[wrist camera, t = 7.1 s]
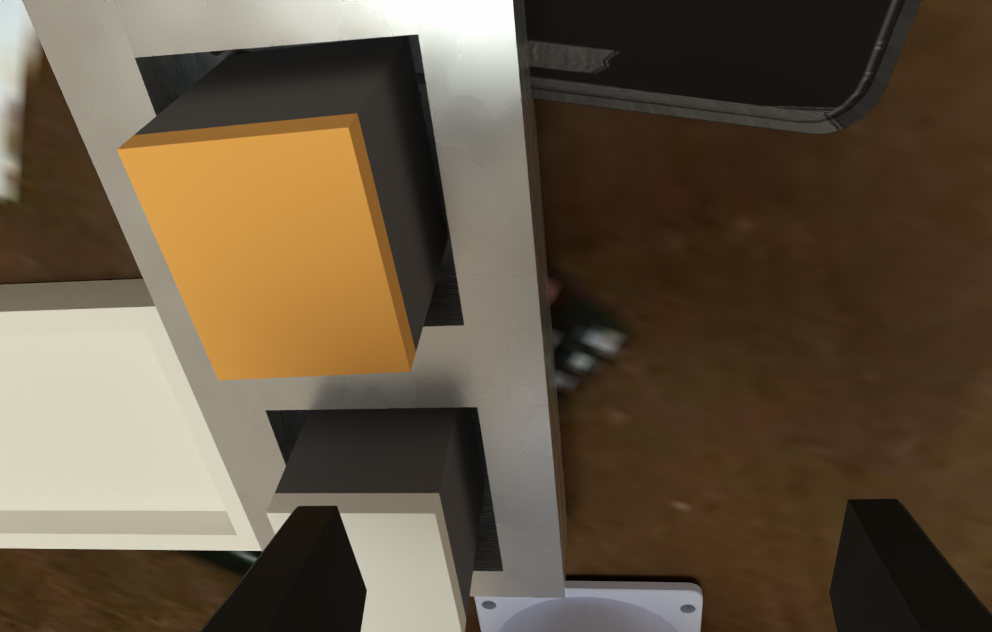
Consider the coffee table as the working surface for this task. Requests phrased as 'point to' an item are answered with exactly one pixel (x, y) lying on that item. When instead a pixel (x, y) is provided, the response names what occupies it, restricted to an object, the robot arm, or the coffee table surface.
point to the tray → (104, 428)
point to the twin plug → (395, 506)
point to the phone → (717, 57)
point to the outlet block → (464, 268)
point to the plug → (298, 208)
